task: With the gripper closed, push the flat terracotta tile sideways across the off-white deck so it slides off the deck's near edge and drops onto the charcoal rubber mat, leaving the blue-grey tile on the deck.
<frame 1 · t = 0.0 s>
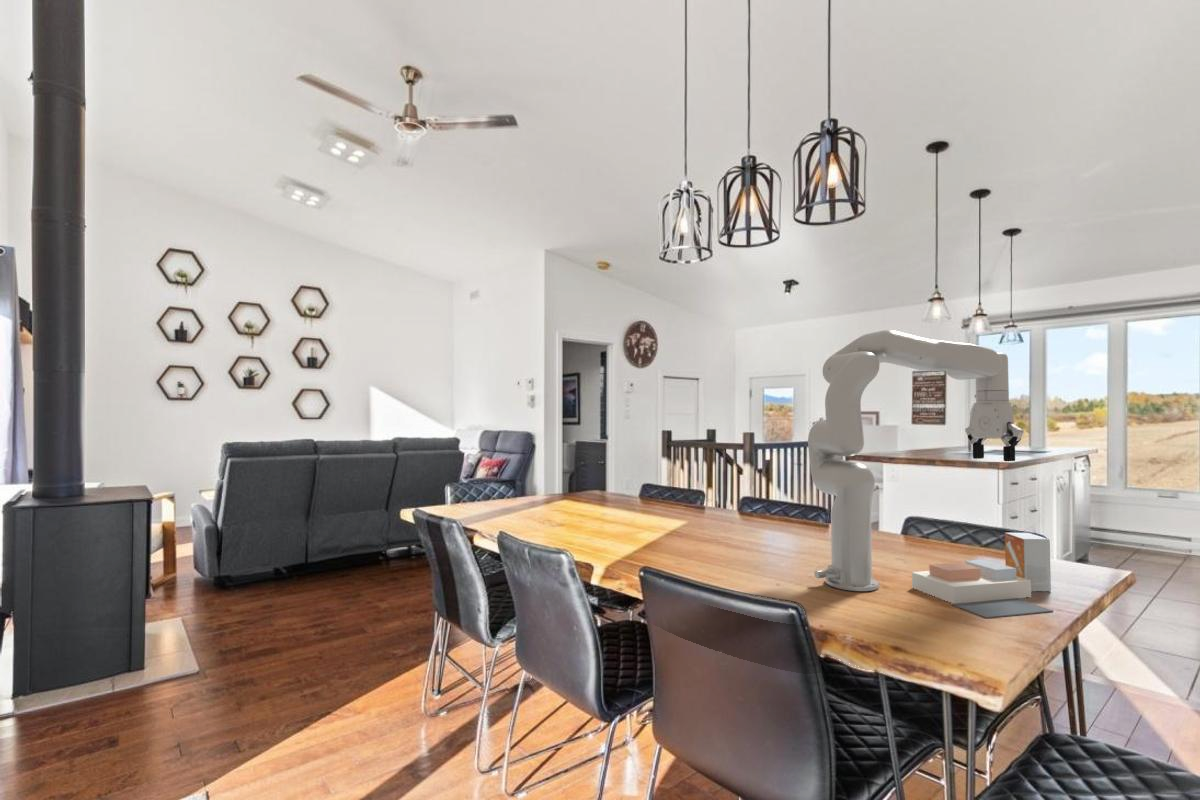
hand: (993, 459, 162), 31 cm above the table, tool pointing down, fingers open, 9 cm apart
deck: (970, 592, 145), on the table
mat: (1001, 608, 133), on the table
blue-grey tile: (990, 574, 146), point 4 cm above the table, touching deck
small box: (1027, 587, 149), on the table
terracotta tile: (954, 576, 144), point 4 cm above the table, touching deck
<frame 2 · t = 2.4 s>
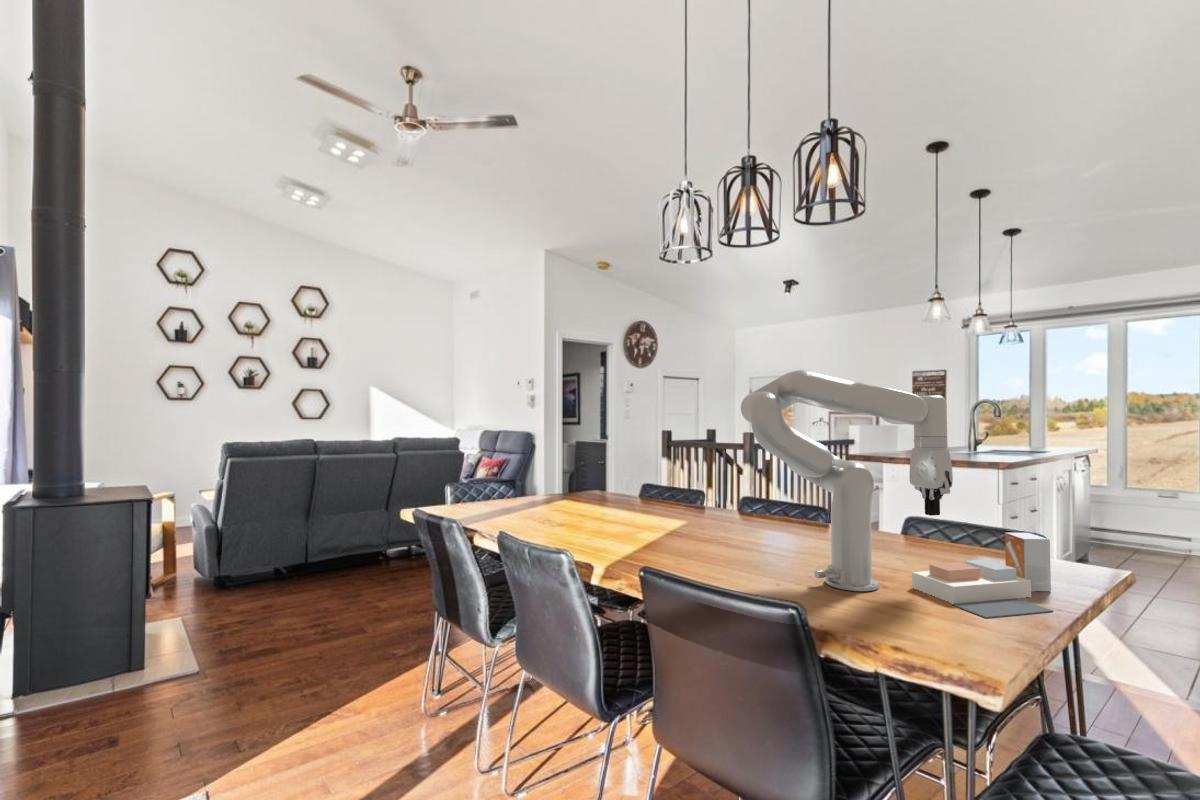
hand: (932, 514, 151), 18 cm above the table, tool pointing down, fingers closed
nothing on the table moved.
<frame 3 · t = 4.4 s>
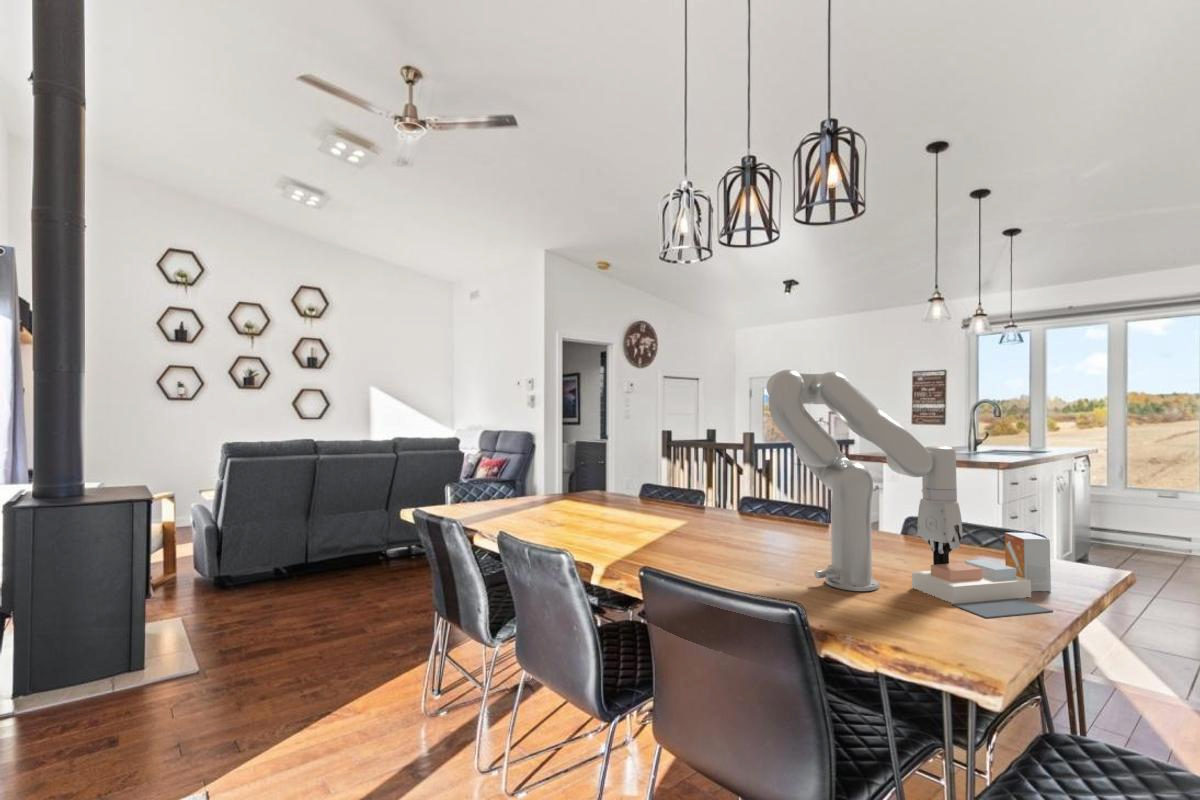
hand: (941, 568, 149), 5 cm above the table, tool pointing down, fingers closed
terracotta tile: (956, 577, 144), point 4 cm above the table, touching gripper
everything else where it was.
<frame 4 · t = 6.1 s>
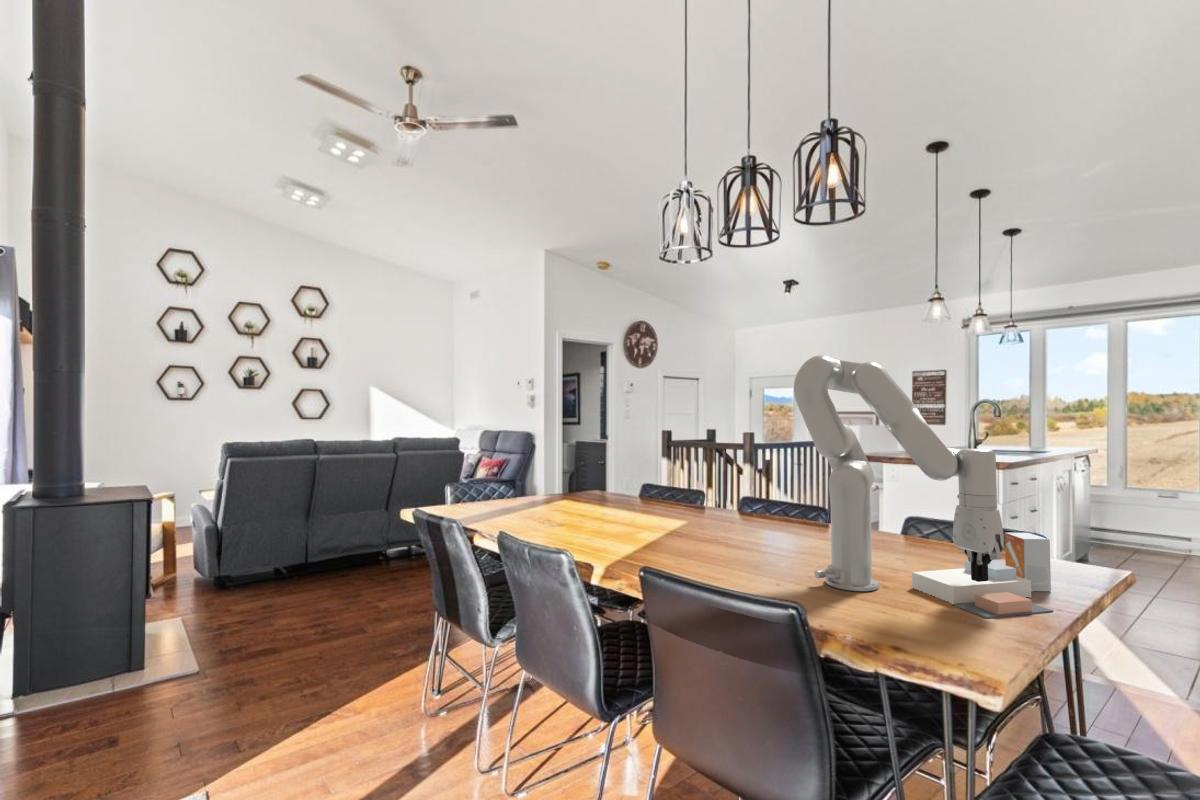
hand: (979, 580, 137), 5 cm above the table, tool pointing down, fingers closed
terracotta tile: (1003, 597, 132), point 3 cm above the table, tilted 180°, touching mat
everything else where it was.
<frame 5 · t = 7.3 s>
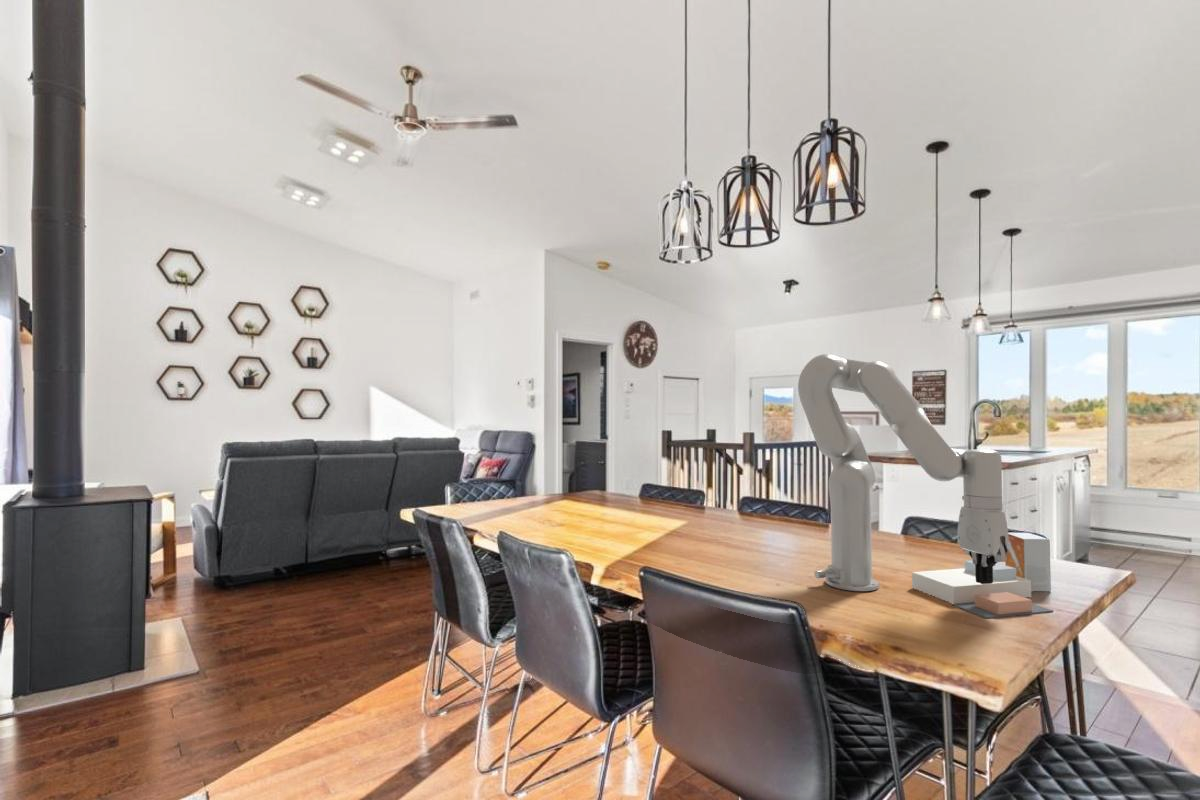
hand: (984, 582, 136), 5 cm above the table, tool pointing down, fingers closed
nothing on the table moved.
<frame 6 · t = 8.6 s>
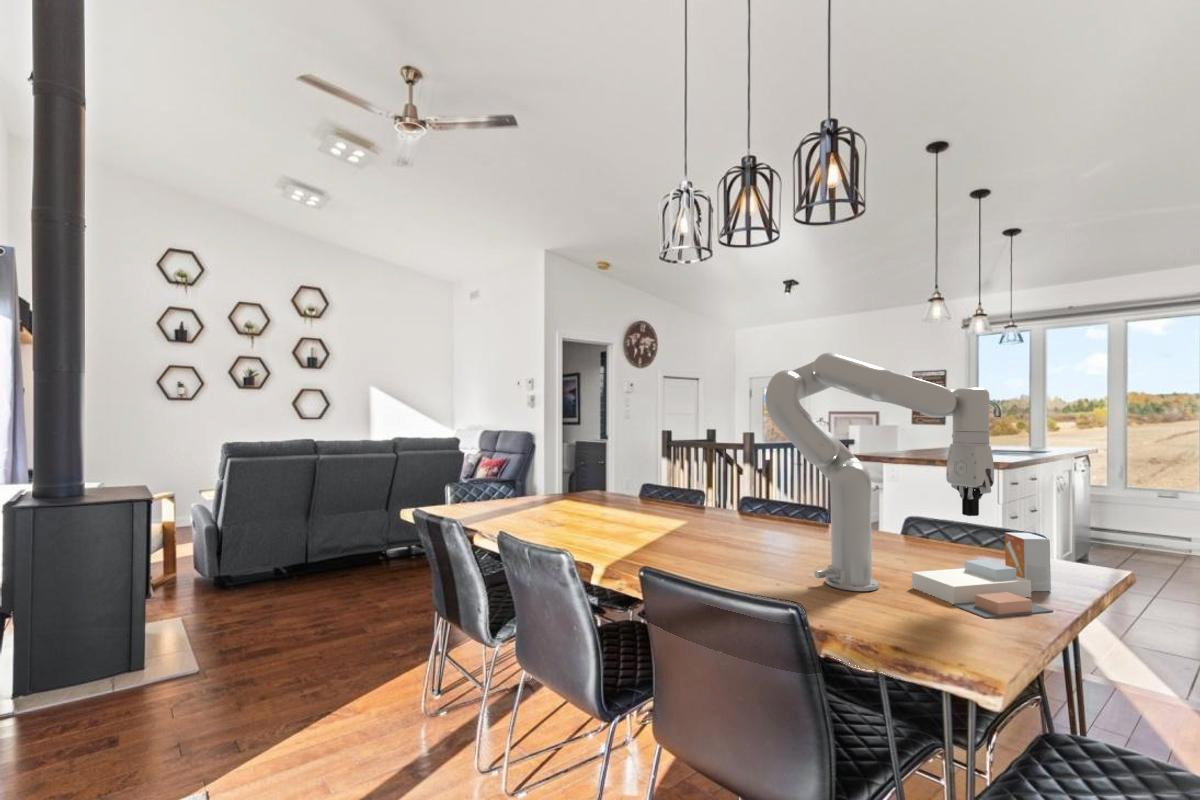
hand: (970, 515, 142), 19 cm above the table, tool pointing down, fingers closed
nothing on the table moved.
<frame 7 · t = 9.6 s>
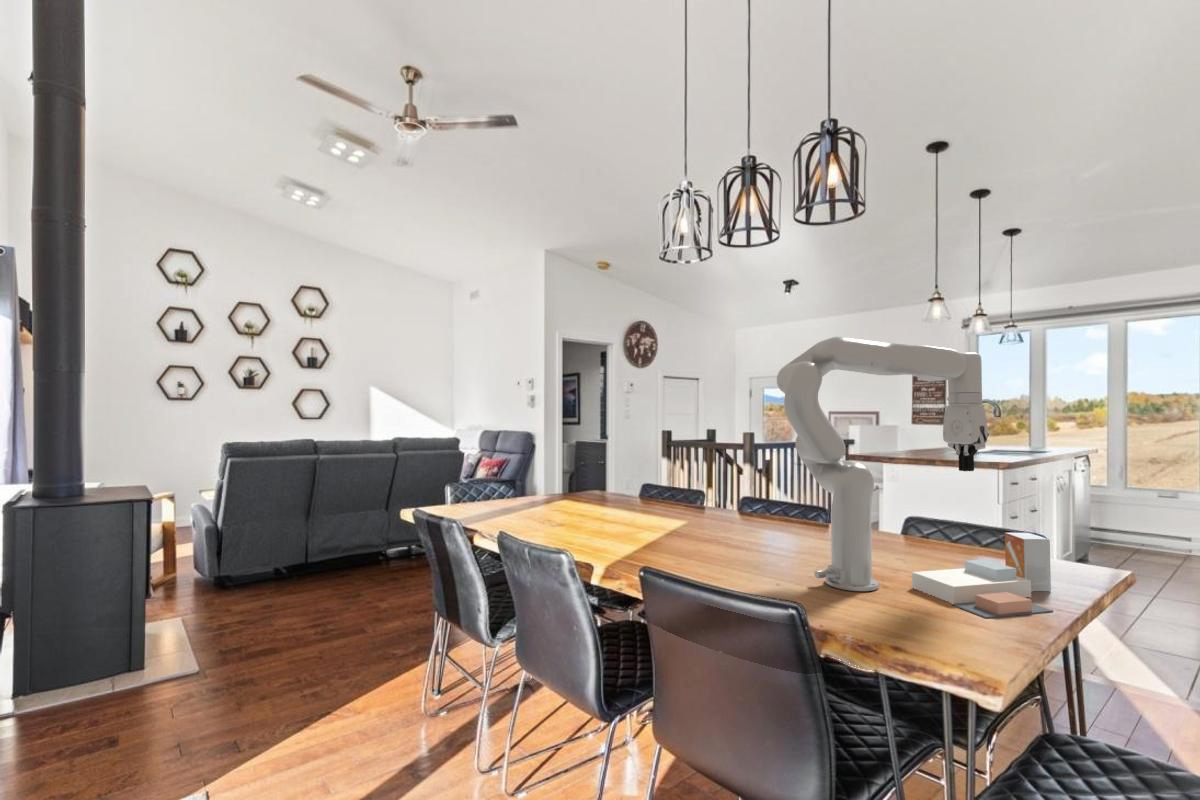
hand: (966, 470, 153), 29 cm above the table, tool pointing down, fingers closed
nothing on the table moved.
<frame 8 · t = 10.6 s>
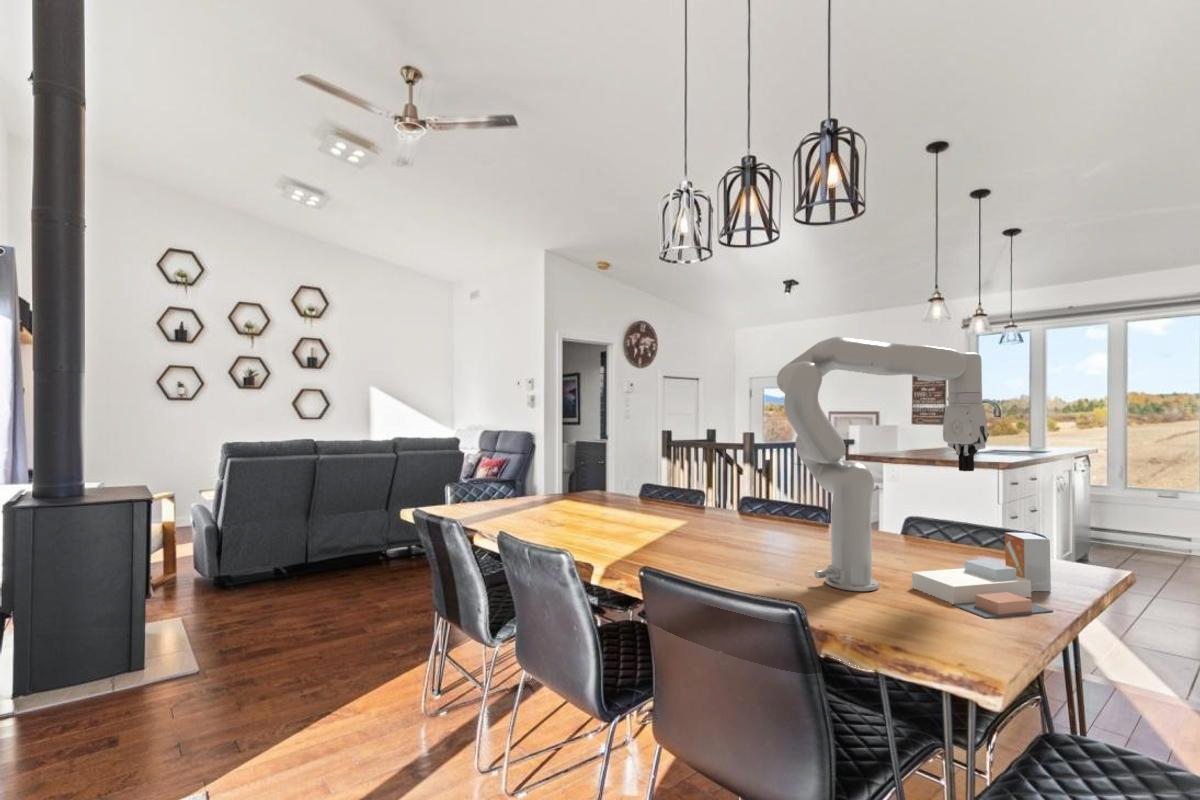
hand: (966, 470, 153), 29 cm above the table, tool pointing down, fingers closed
nothing on the table moved.
at the end: terracotta tile point 2.8 cm above the table; terracotta tile inside the target area on the mat (1.1 cm from its centre), point 2.8 cm above the mat's base; blue-grey tile moved 0.1 cm from its start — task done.
